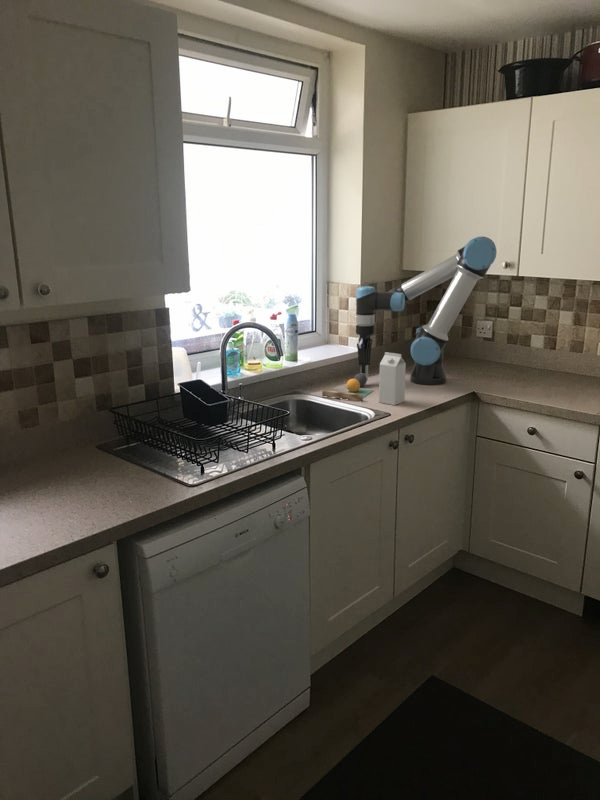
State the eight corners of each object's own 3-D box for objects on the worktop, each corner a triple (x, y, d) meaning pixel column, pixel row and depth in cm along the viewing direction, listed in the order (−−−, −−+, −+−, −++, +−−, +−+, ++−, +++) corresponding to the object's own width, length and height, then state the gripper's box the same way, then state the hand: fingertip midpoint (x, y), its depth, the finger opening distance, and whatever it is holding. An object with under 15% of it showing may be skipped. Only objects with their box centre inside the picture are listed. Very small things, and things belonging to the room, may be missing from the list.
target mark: (373, 390, 266) (373, 390, 266) (361, 399, 254) (361, 398, 254) (341, 387, 272) (341, 387, 272) (328, 395, 260) (328, 395, 260)
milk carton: (388, 398, 255) (389, 350, 250) (404, 401, 250) (406, 352, 245) (378, 402, 249) (379, 353, 244) (394, 405, 245) (396, 355, 240)
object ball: (362, 377, 265) (357, 381, 260) (361, 390, 266) (357, 394, 262) (349, 376, 267) (344, 380, 262) (348, 389, 268) (344, 393, 264)
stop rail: (362, 400, 253) (362, 394, 252) (360, 401, 251) (360, 395, 250) (324, 396, 259) (324, 390, 258) (322, 397, 257) (322, 391, 257)
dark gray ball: (365, 372, 270) (362, 384, 269) (370, 377, 275) (366, 389, 273) (353, 370, 273) (350, 382, 271) (358, 375, 277) (354, 387, 276)
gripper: (361, 321, 277) (361, 376, 283) (350, 326, 266) (350, 382, 272) (378, 322, 274) (377, 377, 280) (368, 327, 263) (367, 384, 269)
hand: (364, 380), depth 276 cm, fingers closed
